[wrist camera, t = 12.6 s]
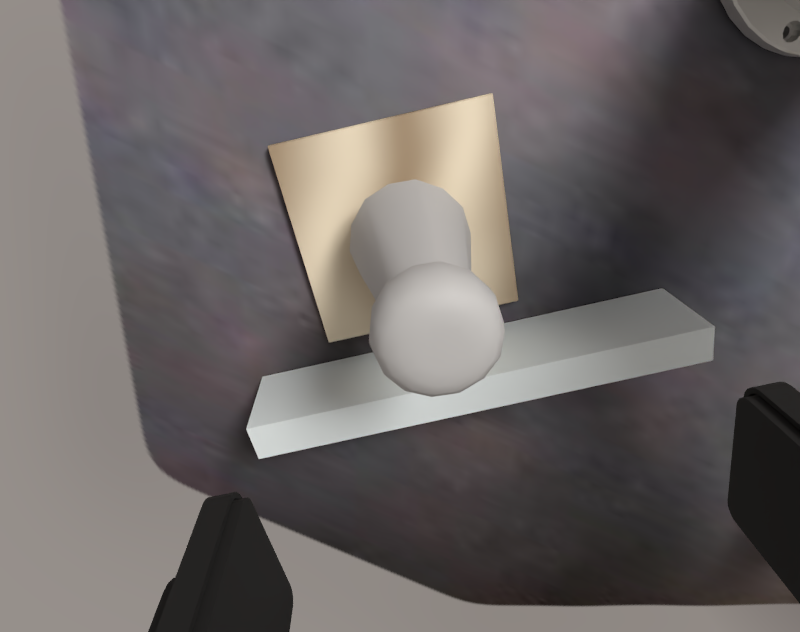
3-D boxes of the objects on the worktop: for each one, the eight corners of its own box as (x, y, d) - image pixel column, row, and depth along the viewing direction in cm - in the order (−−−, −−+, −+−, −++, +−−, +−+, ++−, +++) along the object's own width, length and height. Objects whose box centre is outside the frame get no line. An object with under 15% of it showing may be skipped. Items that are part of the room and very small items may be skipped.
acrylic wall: (662, 288, 31) (715, 326, 26) (662, 318, 31) (712, 360, 27) (262, 376, 31) (246, 429, 27) (272, 403, 32) (258, 459, 28)
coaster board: (490, 93, 25) (492, 93, 25) (515, 296, 30) (518, 300, 30) (269, 145, 26) (267, 146, 25) (329, 338, 30) (328, 342, 30)
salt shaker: (332, 195, 26) (311, 299, 15) (440, 152, 26) (506, 225, 14) (376, 294, 29) (387, 450, 17) (474, 257, 28) (555, 392, 17)
